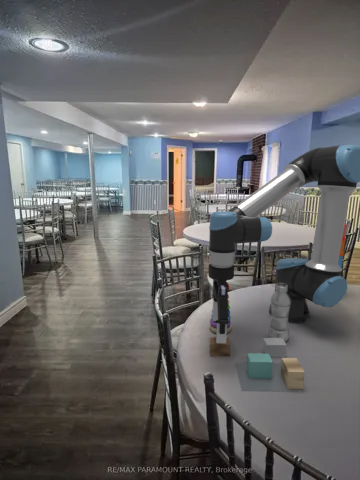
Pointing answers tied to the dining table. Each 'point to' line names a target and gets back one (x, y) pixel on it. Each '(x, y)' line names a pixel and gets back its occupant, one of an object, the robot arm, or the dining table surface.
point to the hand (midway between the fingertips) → (218, 330)
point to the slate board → (263, 380)
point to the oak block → (292, 373)
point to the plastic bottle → (280, 312)
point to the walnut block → (219, 348)
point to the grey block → (274, 347)
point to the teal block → (259, 365)
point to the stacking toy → (214, 325)
